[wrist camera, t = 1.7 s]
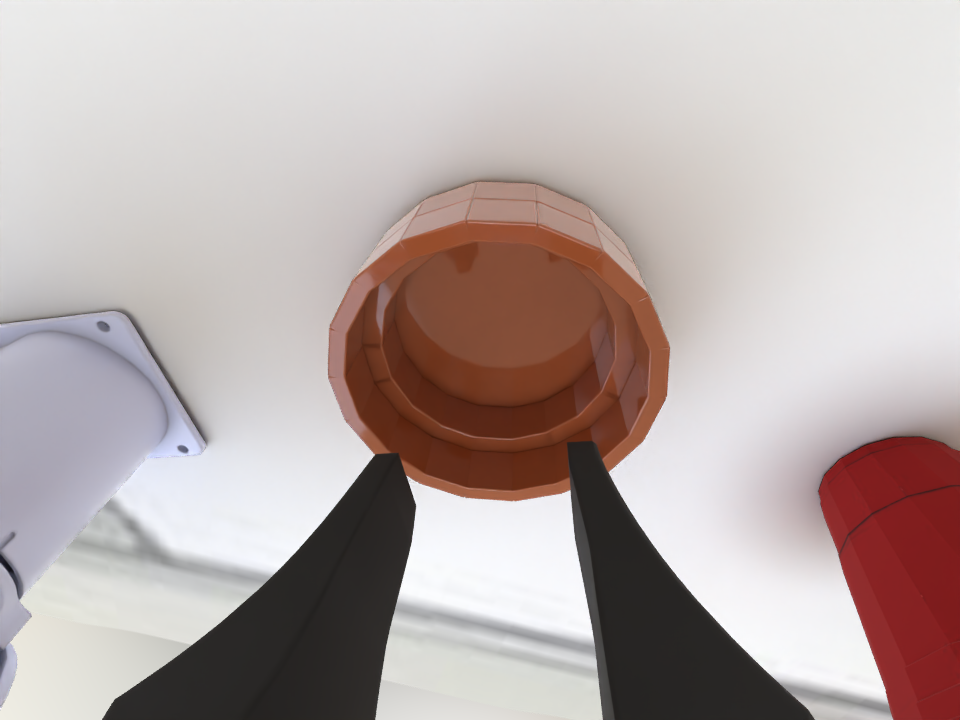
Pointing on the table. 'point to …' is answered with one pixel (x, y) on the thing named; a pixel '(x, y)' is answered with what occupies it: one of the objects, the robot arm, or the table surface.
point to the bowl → (498, 343)
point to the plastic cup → (903, 565)
